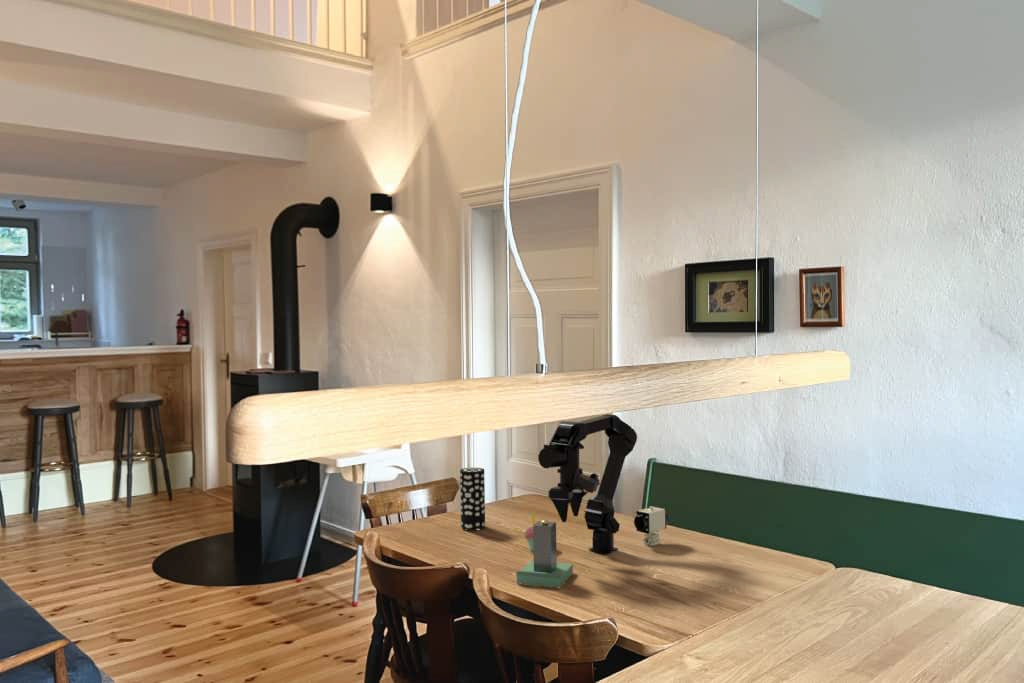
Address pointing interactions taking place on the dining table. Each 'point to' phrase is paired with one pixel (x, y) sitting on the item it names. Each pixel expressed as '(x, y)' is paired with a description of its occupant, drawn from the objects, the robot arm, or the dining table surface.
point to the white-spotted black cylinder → (472, 498)
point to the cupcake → (530, 534)
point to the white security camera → (651, 523)
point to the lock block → (544, 546)
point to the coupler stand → (544, 575)
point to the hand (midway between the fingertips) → (570, 519)
